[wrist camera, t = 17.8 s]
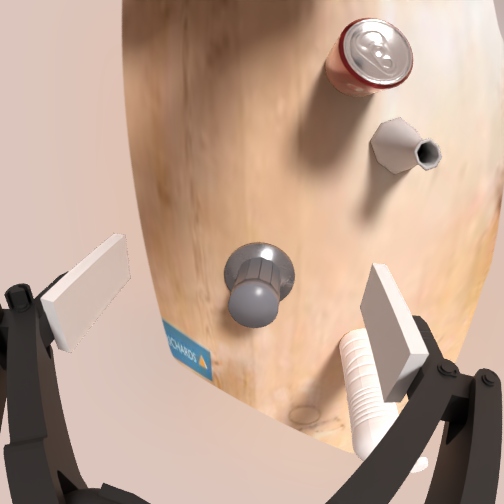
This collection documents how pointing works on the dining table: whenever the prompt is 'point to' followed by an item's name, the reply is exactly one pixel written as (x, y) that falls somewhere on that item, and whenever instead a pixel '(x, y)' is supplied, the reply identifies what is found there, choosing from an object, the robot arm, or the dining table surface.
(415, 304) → the dining table surface
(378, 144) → the flask
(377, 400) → the water bottle
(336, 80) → the soda can
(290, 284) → the round base
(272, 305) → the grey domed cylinder
